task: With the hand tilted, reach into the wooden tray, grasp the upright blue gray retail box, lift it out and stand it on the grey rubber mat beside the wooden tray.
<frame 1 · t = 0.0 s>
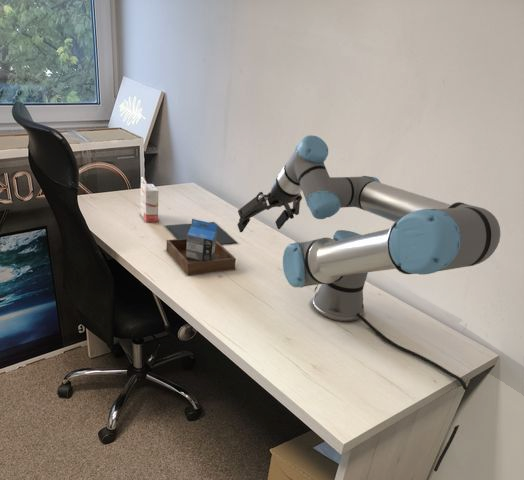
hand: (258, 226, 149), 15 cm above the table, tool tilted 35°, fingers open, 13 cm apart
wooden tray: (200, 260, 160), on the table
ink cartridge box: (149, 218, 184), on the table
mat: (200, 234, 177), on the table
blue gray retail box: (200, 259, 159), resting on wooden tray
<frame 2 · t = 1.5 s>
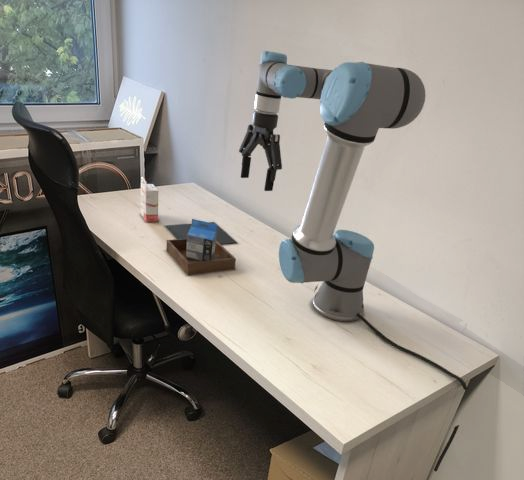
hand: (256, 184, 155), 24 cm above the table, tool pointing down, fingers open, 13 cm apart
nothing on the table moved.
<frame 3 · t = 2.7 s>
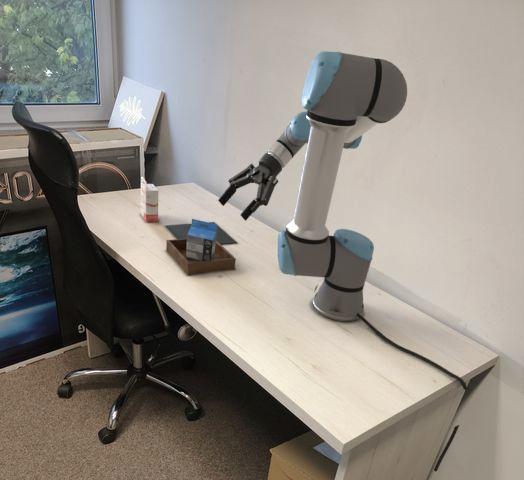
hand: (231, 210, 156), 16 cm above the table, tool tilted 45°, fingers open, 13 cm apart
nothing on the table moved.
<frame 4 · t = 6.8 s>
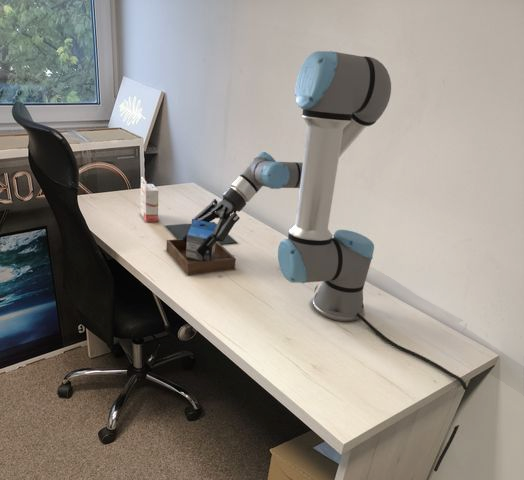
hand: (192, 247, 155), 5 cm above the table, tool tilted 45°, fingers closed on blue gray retail box, 9 cm apart
blue gray retail box: (200, 259, 159), resting on wooden tray, touching gripper
everything else where it was.
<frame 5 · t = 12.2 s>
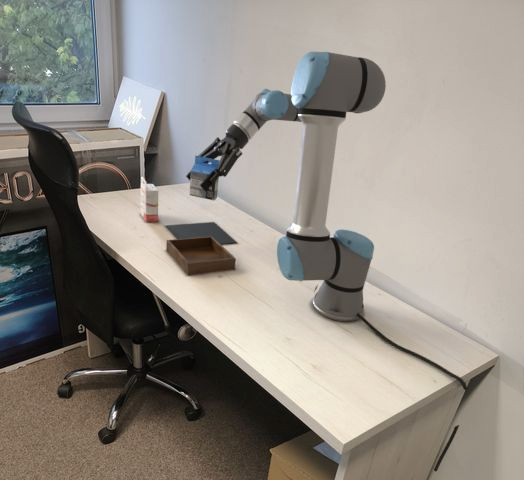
hand: (195, 183, 158), 21 cm above the table, tool tilted 45°, fingers closed on blue gray retail box, 9 cm apart
blue gray retail box: (203, 197, 163), point 16 cm above the table, touching gripper
everything else where it was.
when the fingers open (5 cm above the table, at t = 17.9 s): blue gray retail box stays where it is, resting on mat.
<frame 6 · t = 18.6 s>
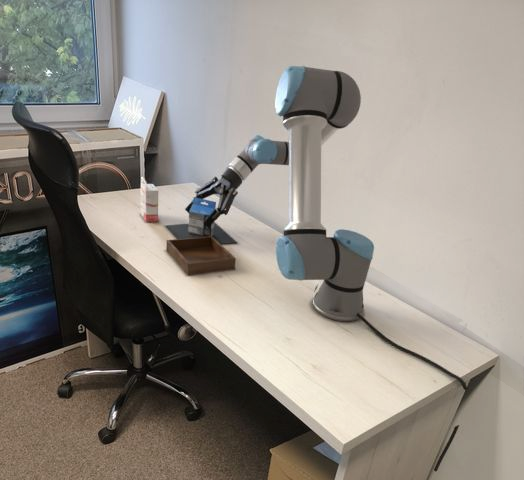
hand: (196, 218, 172), 6 cm above the table, tool tilted 45°, fingers open, 13 cm apart
blue gray retail box: (200, 234, 177), resting on mat
everything else where it was.
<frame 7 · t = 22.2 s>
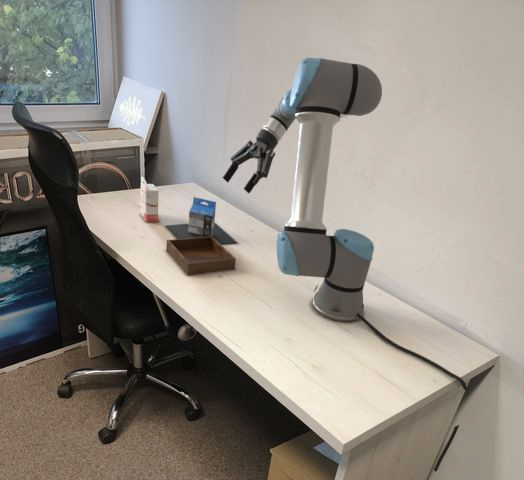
hand: (235, 185, 171), 18 cm above the table, tool tilted 40°, fingers open, 13 cm apart
nothing on the table moved.
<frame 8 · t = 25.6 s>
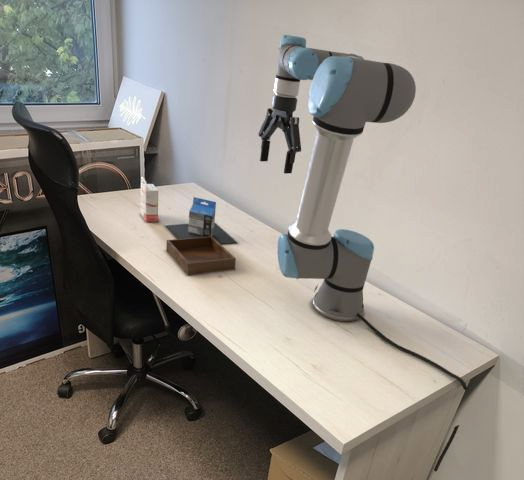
hand: (275, 167, 159), 29 cm above the table, tool pointing down, fingers open, 13 cm apart
nothing on the table moved.
at the end: blue gray retail box inside the target area on the mat (0.0 cm from its centre), point 0.1 cm above the mat's base; blue gray retail box tilted 0°; the gripper is holding nothing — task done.
